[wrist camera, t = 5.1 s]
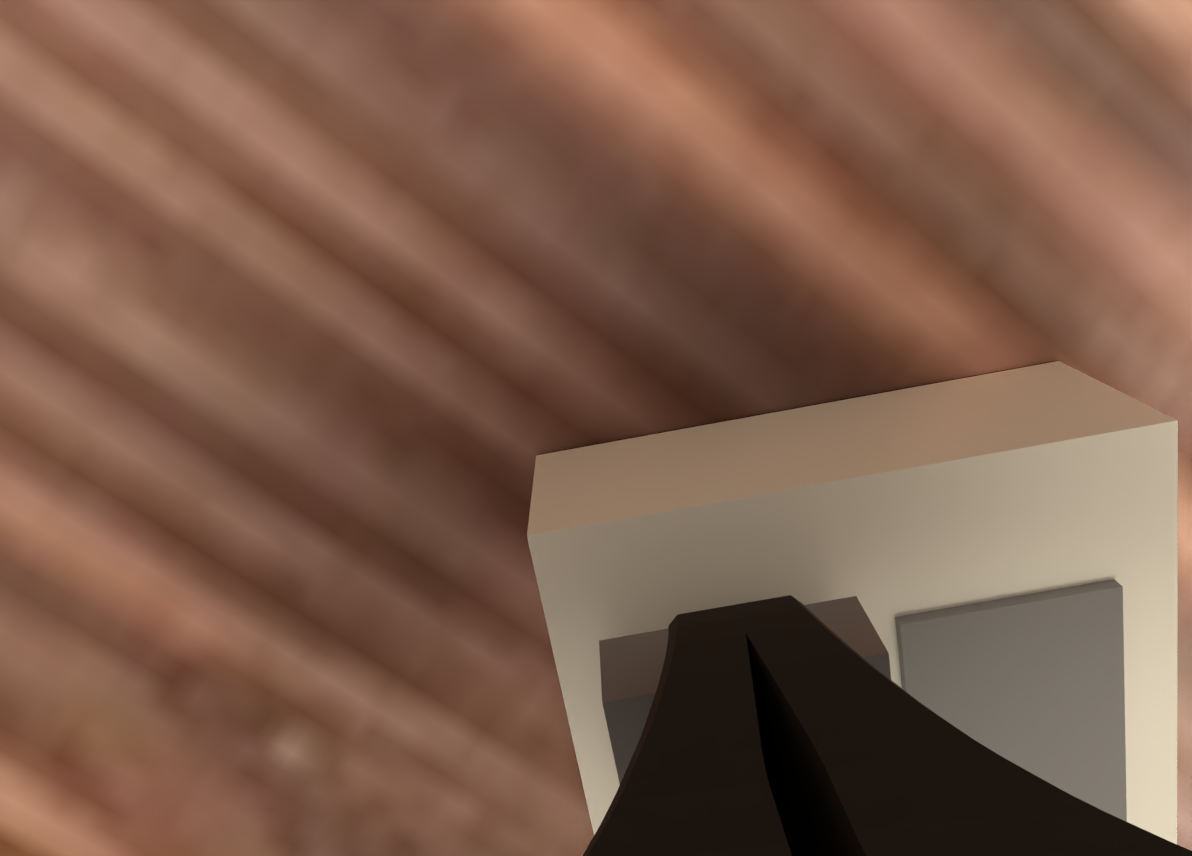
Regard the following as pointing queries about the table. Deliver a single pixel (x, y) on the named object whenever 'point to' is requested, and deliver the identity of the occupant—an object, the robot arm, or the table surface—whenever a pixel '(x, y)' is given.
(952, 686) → the power strip
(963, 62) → the table surface
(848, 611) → the block
